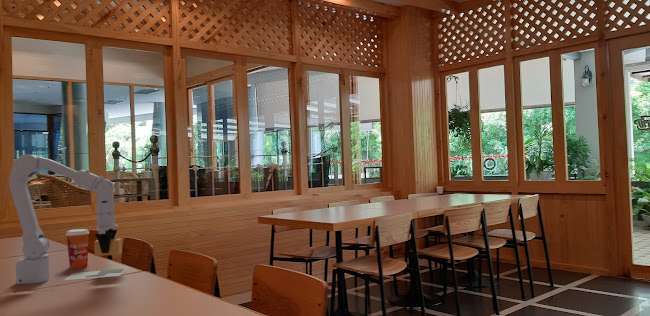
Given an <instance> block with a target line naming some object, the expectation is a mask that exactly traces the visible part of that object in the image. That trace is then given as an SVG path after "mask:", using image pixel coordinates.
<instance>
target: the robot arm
mask: <svg viewBox="0 0 650 316" xmlns="http://www.w3.org/2000/svg"><path fill="white" fill-rule="evenodd" d="M40 171H41V172H42V171H43V172H44V171H50V172H53V173H54V174H58V175H61V176H64V177H66V178H68V179H72V181H73V184H74V185H75V186H78V187H80V188H84V190H88V191H90V192H94V193H96V220H97V222H96V223H97V225H96V229H97V230H98V232H96V233H95V234H94V236H95V238H96V240H98V242H99V244H100V248H101V252H102V253H109V249H110V241H111V239H116V238H115V237H116V234H117V233H118V229H115V228H119V224H116V219H115V213H116V212H115V199H114V197H115V195H114V191H115V184H114V182H112V181H111V180H110V179H109V178H104V176H102V175H96V174H94V173H92V172H91V170H90V169H80V170H78V171H77V170H75V169H73V168H70V167H68V166H66V165H64V164H62V163H60V162H58V161H56V160H52V159H50V158H46V157H43V156H40V155H37V154H27V153H26V154H21V155H20V156H18V158H17V159H16V160H15V161H14V162H13V163H12V168H11V172H10V175H9V178H8V181H7V182H8V186H9V188H10V189H9V190H10V193H11V195H12V196H11V197H12V200H13V203H14V207H15V210H16V212H17V216H18V220H19V223H20V227H21V230H22V243H23V244H22V253H23V255H24V258H19V259H17V261H16V264H15V277H16V278H15V281H16V285H21V284H37V283H38V284H39V283H43V282H44V283H45V282H47V281H50V262H49V254H48V252H47V251H48V250H49V248H50V241H49V239H48V238H47V237H46V236H45V235H44V232H43V230H42V229H41V227H40V224H39V220H38V218H37V214H36V212H35V211H36V210H35V208H34V204H33V201H32V200H33V199H32V197H31V194H30V191H29V187H28V182H29V181H30V180H31V178H32V177H33V176H34V175H35V174H37V173H39V172H40Z"/></svg>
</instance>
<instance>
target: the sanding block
mask: <svg viewBox="0 0 650 316" xmlns="http://www.w3.org/2000/svg"><path fill="white" fill-rule="evenodd" d="M93 245H94V257H100V256H103V257H104V256H115V255H116V256H117V255H120V254H121V253H122V252H123V250H122V248H123V247H122V237H121V238H120V237H119V238H117V237H116V238H114V239H111V241H110V249H109V253H102V252H101V248H100V244H99V242H98V239H96V240H95V241H94V244H93Z"/></svg>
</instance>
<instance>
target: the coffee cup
mask: <svg viewBox="0 0 650 316" xmlns="http://www.w3.org/2000/svg"><path fill="white" fill-rule="evenodd" d="M89 234H90V231H89V229H87V228H78V229H70V230H67V231H66V233H65V236H66V240H67V241H66V242H67V253H68V262H69V268H70V269H81V268H86V267H88V264H89V262H88V261H89Z"/></svg>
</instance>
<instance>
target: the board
mask: <svg viewBox="0 0 650 316" xmlns="http://www.w3.org/2000/svg"><path fill="white" fill-rule="evenodd" d="M125 271H126V268H117V269H104V270H103V269H102V270H95V271H79V272H72V273H71V274H69V275H68V276H67V277H65V278H64V279H63V281H72V280H74V281H75V280H87V279H99V278H111V277H112V278H114V277H121V275H122V274H123V273H124V272H125Z"/></svg>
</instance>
